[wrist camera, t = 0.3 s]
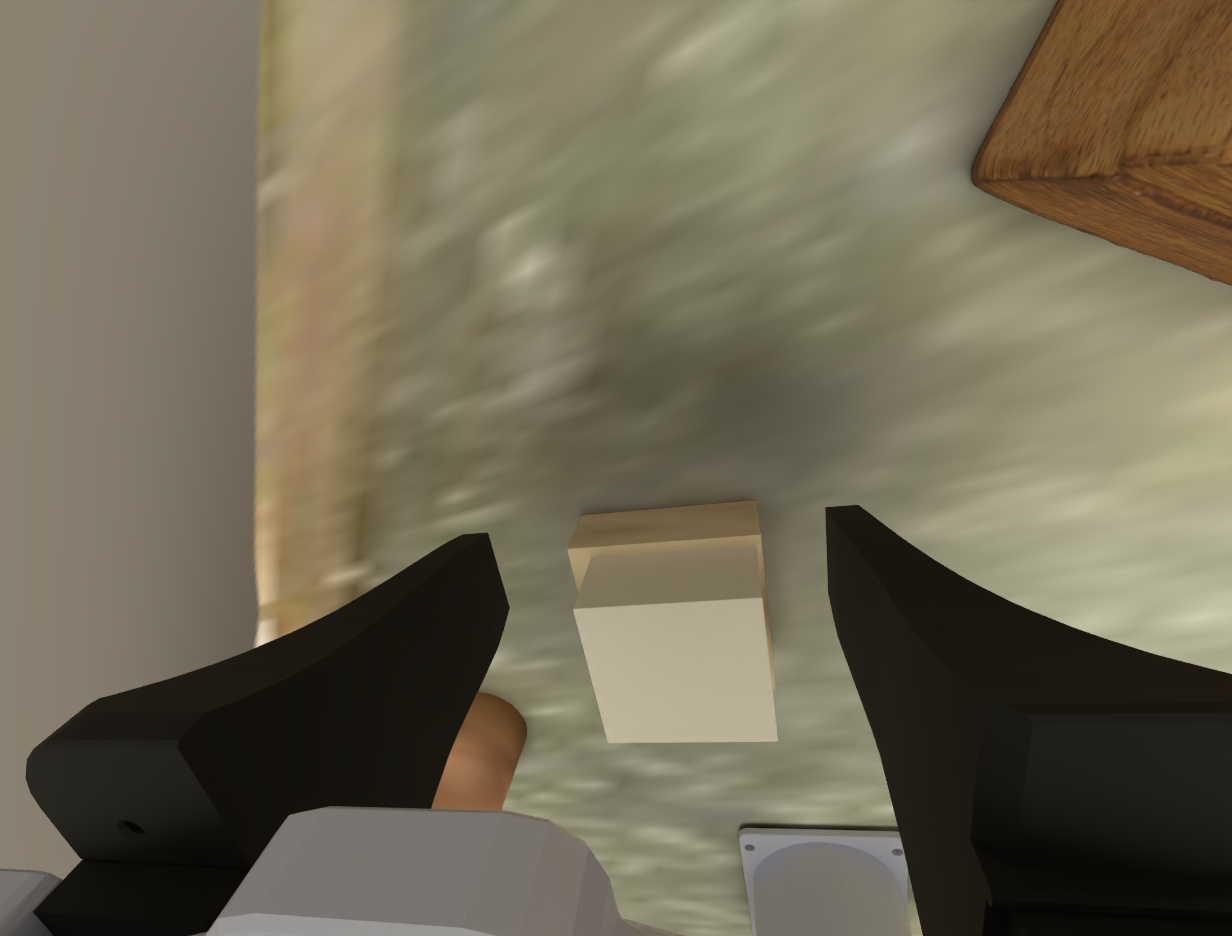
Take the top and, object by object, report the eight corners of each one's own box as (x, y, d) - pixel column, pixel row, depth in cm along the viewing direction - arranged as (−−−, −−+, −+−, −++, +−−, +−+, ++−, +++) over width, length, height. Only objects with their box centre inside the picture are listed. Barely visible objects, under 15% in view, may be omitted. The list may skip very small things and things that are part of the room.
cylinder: (536, 755, 31) (512, 829, 27) (457, 755, 32) (425, 827, 28) (515, 690, 29) (487, 760, 25) (433, 692, 30) (395, 760, 26)
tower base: (769, 637, 26) (775, 689, 23) (613, 643, 27) (602, 692, 25) (755, 495, 23) (760, 534, 20) (583, 510, 25) (567, 548, 22)
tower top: (770, 677, 23) (778, 741, 20) (620, 682, 24) (608, 743, 22) (756, 544, 21) (762, 597, 18) (590, 558, 22) (572, 609, 19)
